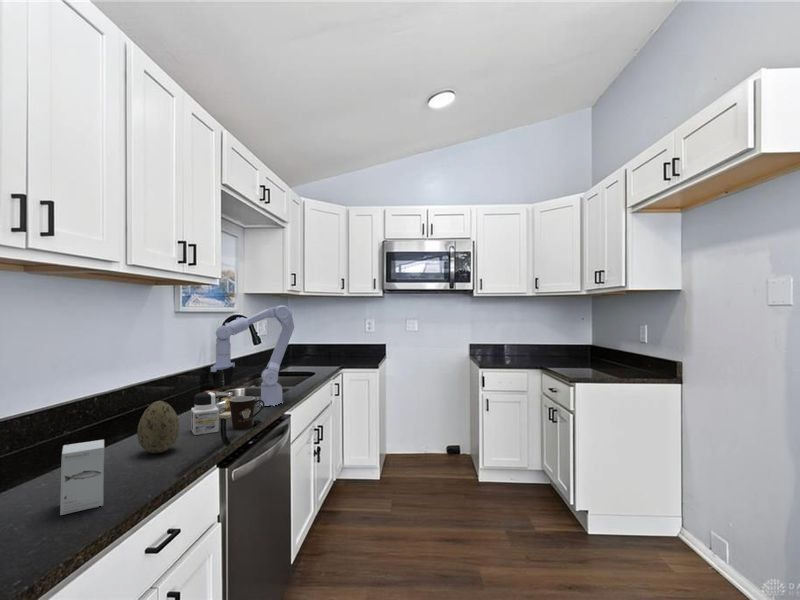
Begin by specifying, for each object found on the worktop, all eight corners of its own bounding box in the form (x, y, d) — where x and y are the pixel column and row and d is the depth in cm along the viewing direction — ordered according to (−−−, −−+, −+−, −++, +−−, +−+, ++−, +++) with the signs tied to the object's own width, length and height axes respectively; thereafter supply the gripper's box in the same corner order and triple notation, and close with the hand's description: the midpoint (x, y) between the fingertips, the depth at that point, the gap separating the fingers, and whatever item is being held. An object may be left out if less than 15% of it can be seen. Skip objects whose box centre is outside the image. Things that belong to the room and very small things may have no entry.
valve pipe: (236, 405, 178) (236, 392, 178) (245, 406, 177) (245, 393, 177) (211, 414, 163) (211, 400, 164) (220, 414, 162) (220, 400, 162)
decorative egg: (138, 461, 115) (139, 406, 116) (135, 451, 124) (136, 400, 124) (182, 453, 122) (182, 401, 122) (176, 444, 130) (176, 395, 131)
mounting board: (226, 407, 180) (226, 404, 180) (252, 409, 176) (252, 406, 176) (198, 416, 164) (198, 413, 164) (226, 418, 161) (226, 415, 161)
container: (194, 435, 139) (194, 396, 140) (190, 430, 146) (191, 392, 146) (219, 431, 144) (219, 393, 144) (214, 426, 150) (215, 390, 150)
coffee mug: (227, 431, 144) (227, 402, 144) (230, 425, 152) (230, 397, 152) (263, 428, 147) (263, 400, 147) (264, 422, 155) (264, 395, 155)
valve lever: (233, 395, 171) (233, 392, 171) (230, 396, 169) (230, 393, 169) (208, 393, 175) (208, 390, 175) (204, 394, 173) (204, 391, 173)
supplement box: (59, 517, 85) (60, 453, 85) (61, 503, 91) (62, 444, 91) (104, 506, 89) (104, 446, 89) (103, 494, 95) (104, 438, 95)
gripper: (224, 352, 185) (224, 383, 184) (203, 355, 170) (203, 389, 170) (239, 352, 184) (239, 383, 183) (219, 356, 169) (219, 390, 169)
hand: (223, 386), depth 177 cm, fingers open, 7 cm apart
